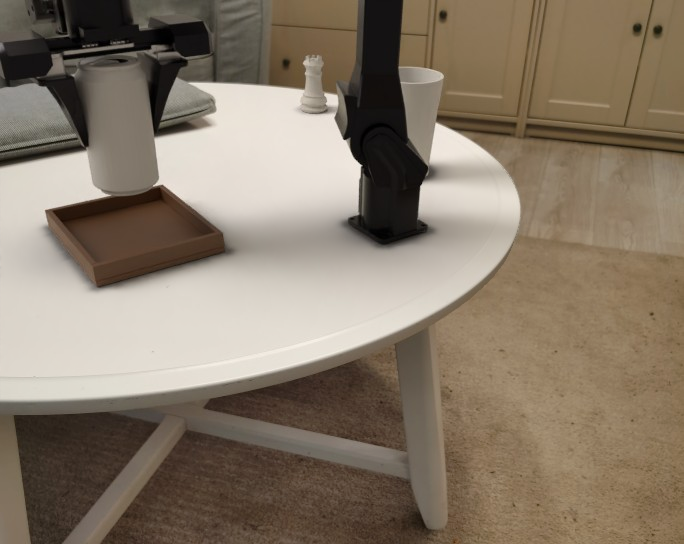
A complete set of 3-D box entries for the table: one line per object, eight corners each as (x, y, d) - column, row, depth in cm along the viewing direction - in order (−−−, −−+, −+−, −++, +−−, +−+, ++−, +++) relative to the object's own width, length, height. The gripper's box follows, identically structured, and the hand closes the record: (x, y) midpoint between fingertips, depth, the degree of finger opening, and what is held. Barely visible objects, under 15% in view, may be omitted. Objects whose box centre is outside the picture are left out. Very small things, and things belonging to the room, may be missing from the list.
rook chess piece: (297, 112, 111) (295, 59, 107) (303, 104, 115) (302, 52, 111) (325, 114, 111) (325, 60, 106) (330, 106, 115) (330, 54, 110)
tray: (225, 251, 72) (223, 232, 71) (96, 287, 66) (92, 267, 64) (164, 201, 82) (162, 184, 81) (48, 228, 76) (44, 209, 75)
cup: (431, 185, 87) (441, 85, 80) (368, 180, 88) (371, 80, 82) (437, 163, 94) (446, 69, 87) (378, 158, 95) (382, 64, 88)
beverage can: (173, 184, 71) (159, 58, 65) (125, 203, 67) (105, 70, 60) (128, 172, 74) (111, 50, 68) (79, 189, 70) (55, 60, 63)
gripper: (156, -58, 69) (176, 104, 78) (-51, -48, 60) (-3, 134, 69) (206, -47, 62) (222, 131, 70) (-22, -34, 53) (28, 168, 62)
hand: (120, 139), depth 68 cm, fingers closed on beverage can, 6 cm apart
